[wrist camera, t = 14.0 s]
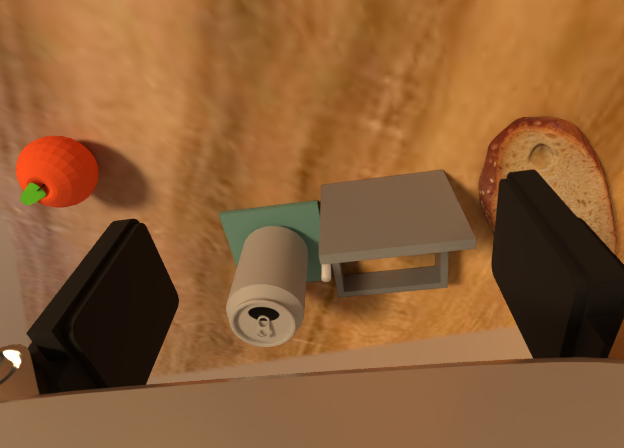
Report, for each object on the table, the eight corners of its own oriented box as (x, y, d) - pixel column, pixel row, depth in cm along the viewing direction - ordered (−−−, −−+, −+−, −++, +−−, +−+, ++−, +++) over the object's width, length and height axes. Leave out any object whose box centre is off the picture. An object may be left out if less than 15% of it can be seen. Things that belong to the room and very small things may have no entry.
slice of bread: (592, 272, 51) (609, 294, 47) (445, 255, 50) (453, 276, 47) (684, 131, 40) (713, 147, 37) (501, 107, 40) (515, 121, 37)
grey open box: (442, 169, 43) (480, 246, 32) (441, 270, 51) (471, 359, 40) (321, 184, 45) (318, 263, 34) (337, 280, 52) (339, 369, 41)
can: (311, 224, 47) (306, 301, 37) (306, 275, 51) (300, 356, 41) (243, 218, 47) (220, 293, 37) (244, 269, 51) (223, 349, 41)
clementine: (78, 201, 47) (42, 239, 41) (23, 155, 44) (-25, 189, 38) (124, 163, 44) (92, 197, 38) (68, 111, 41) (24, 139, 35)
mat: (317, 200, 46) (317, 203, 45) (331, 276, 52) (331, 279, 51) (220, 212, 47) (219, 215, 47) (244, 284, 53) (244, 288, 53)
